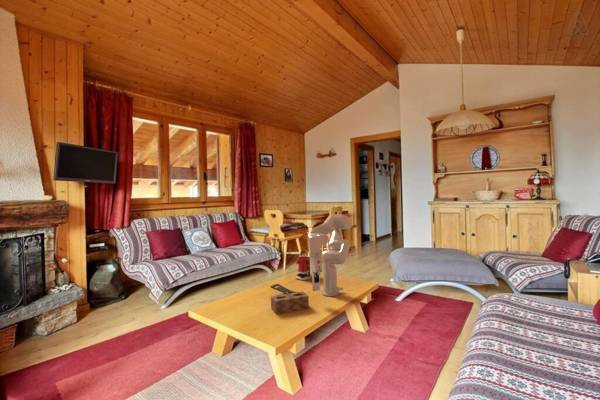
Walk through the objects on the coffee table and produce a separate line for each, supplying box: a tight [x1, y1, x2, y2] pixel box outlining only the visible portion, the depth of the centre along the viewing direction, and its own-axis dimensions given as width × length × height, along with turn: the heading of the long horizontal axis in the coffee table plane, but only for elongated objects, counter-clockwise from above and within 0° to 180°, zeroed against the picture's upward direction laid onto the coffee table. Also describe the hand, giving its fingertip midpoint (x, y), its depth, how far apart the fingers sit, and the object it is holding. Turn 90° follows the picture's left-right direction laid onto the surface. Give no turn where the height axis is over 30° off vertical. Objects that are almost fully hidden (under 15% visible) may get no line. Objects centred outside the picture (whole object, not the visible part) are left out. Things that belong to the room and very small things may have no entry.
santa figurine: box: [295, 249, 312, 281], centre depth 262 cm, size 17×14×25 cm
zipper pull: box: [269, 283, 296, 294], centre depth 215 cm, size 9×7×25 cm
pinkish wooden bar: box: [311, 271, 321, 292], centre depth 200 cm, size 4×2×12 cm, turn 111°
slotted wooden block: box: [270, 291, 310, 315], centre depth 194 cm, size 22×10×8 cm, turn 111°
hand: (316, 281), depth 200 cm, fingers closed on pinkish wooden bar, 1 cm apart
